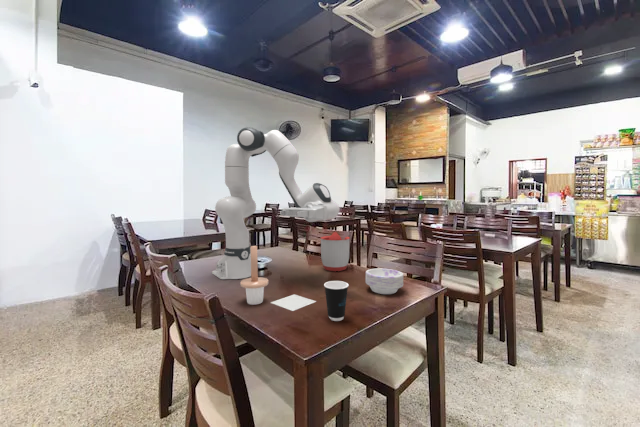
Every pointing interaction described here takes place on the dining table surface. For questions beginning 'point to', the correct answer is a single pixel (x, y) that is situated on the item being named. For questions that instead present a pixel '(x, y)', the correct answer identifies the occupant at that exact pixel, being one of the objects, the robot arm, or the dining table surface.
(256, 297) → the white round tub
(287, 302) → the mat
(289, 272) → the dining table surface
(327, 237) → the citrus juicer
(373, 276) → the paper bowls
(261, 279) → the peg on round base
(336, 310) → the dixie cup
